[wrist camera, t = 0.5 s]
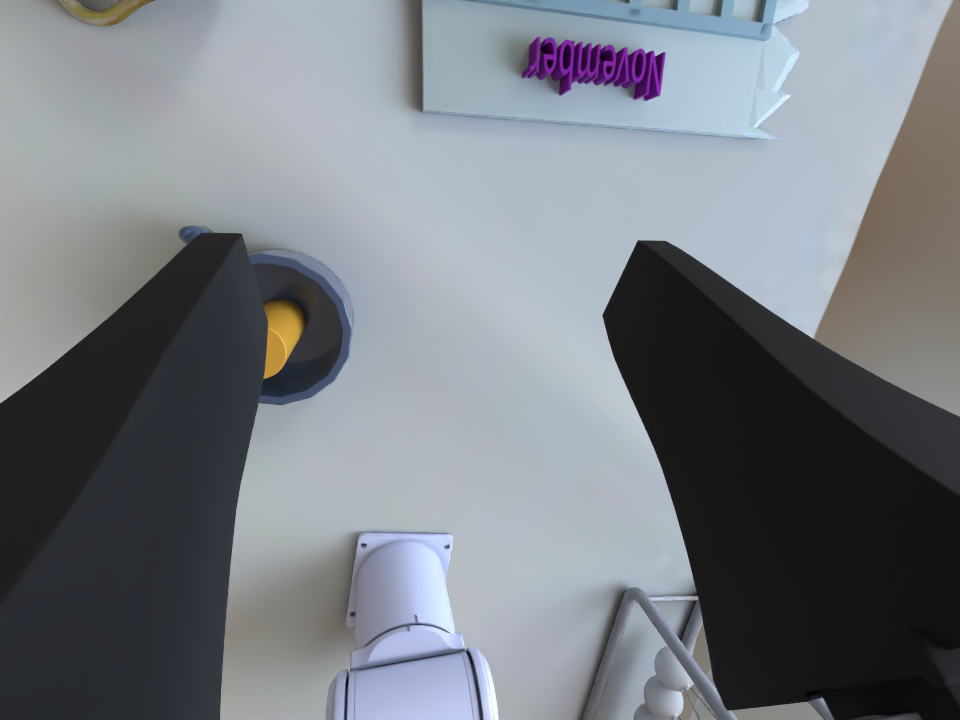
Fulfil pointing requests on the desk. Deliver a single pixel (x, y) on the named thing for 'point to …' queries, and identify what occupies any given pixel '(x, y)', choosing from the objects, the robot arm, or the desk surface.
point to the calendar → (610, 62)
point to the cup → (323, 310)
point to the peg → (282, 332)
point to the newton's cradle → (666, 666)
